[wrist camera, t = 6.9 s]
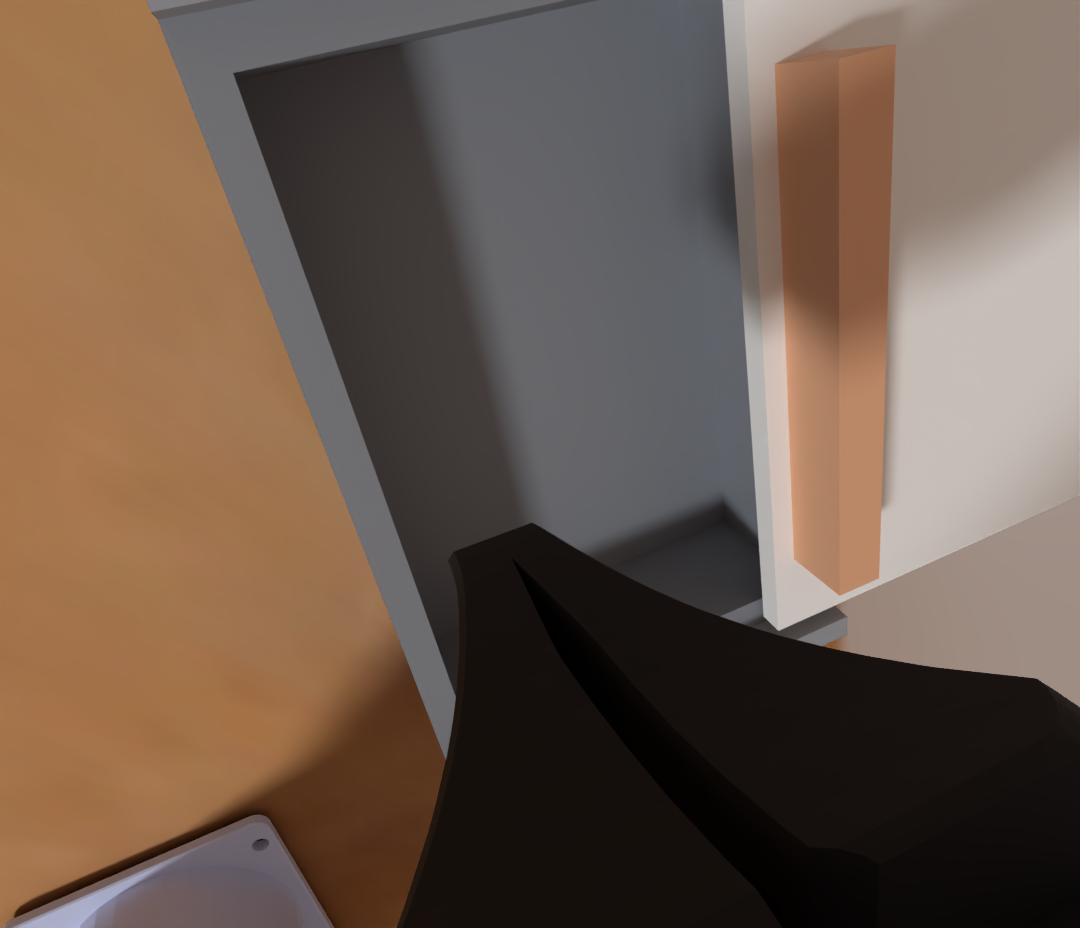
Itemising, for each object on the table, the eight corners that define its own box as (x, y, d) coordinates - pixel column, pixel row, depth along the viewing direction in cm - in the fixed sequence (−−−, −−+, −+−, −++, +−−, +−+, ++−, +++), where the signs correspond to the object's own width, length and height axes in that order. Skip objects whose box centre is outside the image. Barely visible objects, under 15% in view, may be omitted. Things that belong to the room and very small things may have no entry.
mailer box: (738, 541, 27) (847, 634, 22) (418, 672, 24) (463, 811, 19) (685, -99, 18) (850, -176, 13) (162, 2, 15) (128, -47, 10)
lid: (1078, 477, 24) (1158, 513, 22) (763, 616, 22) (820, 671, 20) (1195, -166, 16) (1339, -207, 14) (717, -67, 14) (806, -99, 12)
